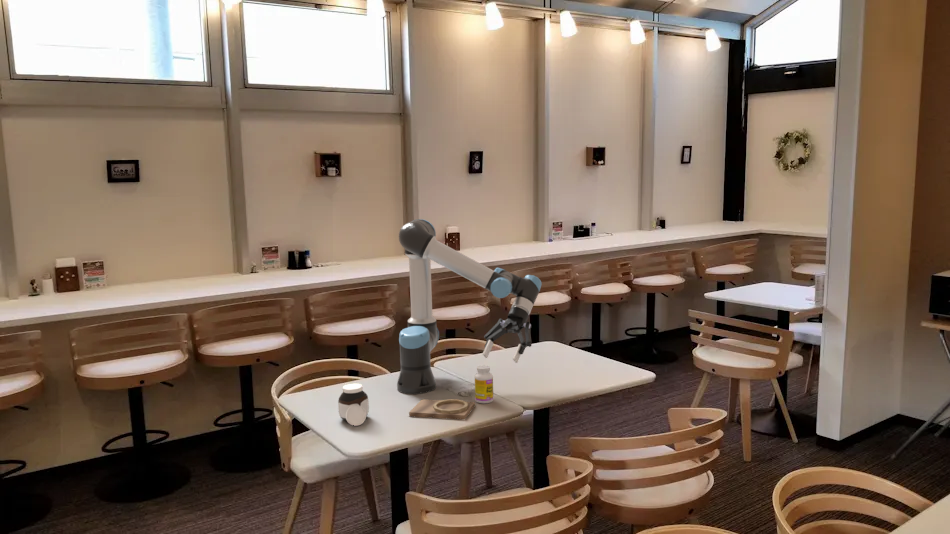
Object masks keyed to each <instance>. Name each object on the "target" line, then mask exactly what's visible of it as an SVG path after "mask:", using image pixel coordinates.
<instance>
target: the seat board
mask: <svg viewBox="0 0 950 534" xmlns="http://www.w3.org/2000/svg"><path fill="white" fill-rule="evenodd" d="M474 406H475V407H476V401H466V400H462V399H455V398H454V399H453V398H449V399H425V398H424V399H421V400H420V401H419V402H418V403H416V404H415V406H413V408H412V409H411V410H410V411H409V412H408V416H409V417H411V416H413V418H414V416H415V417H416V418H428V417H432V418H431V419H446V418H447V419H448V420H449V419H450V420H462V419H465V418H466V419H467V417H468V416H469V415H470V413H471V412H472V411H471V410H474V408H475V407H474ZM470 411H471V412H470ZM468 414H469V415H468ZM466 419H465V420H466Z"/></svg>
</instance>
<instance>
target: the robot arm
mask: <svg viewBox="0 0 950 534" xmlns="http://www.w3.org/2000/svg"><path fill="white" fill-rule="evenodd" d="M436 233H437V232H436V229H435V227H434V225H433V224H432V223H431V222H430V221H428V220H426V219H422V218H420V219H419V218H418V219H413V220H411V221H408V222H406V223H405V224H403V225H402V227H400V230H399V233H398V241H399V245H401V247H402V248H403V249H404V255H405V256H406V257H407V258H408V262H409V263H408V265H409V271H408V272H409V292H410V293H409V294H410V318H408V319H407V327H405V328H402V330H400V332H399V337H398V342H399V356H400V357H399V362H400V371H399V375H398V378H397V383H396V390H397V391H398V392H400V393H403V394H409V395H410V394H413V395H414V394H415V395H416V394H424V393H429V392H432V391H434V390H435V389H436V387H437V381H436V379H435V376H434V373H433V371H432V367H431V366H432V365H431V352H432V351H433V350H434V348H435V347H436V346H437V345H438V342H439V339H440V331H439V328H438V327H437V319H436V318H435V317H434V316H433V297H432V295H433V293H432V270H431V269H432V267H431V265H432V264H431V261H433V262H434V263H436V264H438V265H441V267H444V268H446V269H448V270H450V271H451V272H453V273H456V275H459V276H461V277H463V278H465V279H467V280H469V282H472V283H474V284H476V285H478V286H480V287H481V288H483V289H485V290H487V291H489V292H490V293H491V294H492V296H493V297H495V298H498V299H504V298H507V296H509V295H510V294H512V296H513V295H514V296H515V297H514V301H513V303H512V305H511V307H510V310H509V312H508V314H507V319H505V320H503V319H502V318H499V319H498V321H497V322H496V323H495V325H493V326H492V327H491V328H490V329H489V330H488V332H486V334H484V336H483V338H484V339H485V340H486V342H485V345H484V349H483V352H482V356H483V357H484V358H485V359H488V358H489V355H490V352H491V351H492V349H493V346H494V342H495V341H497V339H500V337H502V336H504V335H505V334H508V333H509V334H510V333H512V334H517V336H518V338H519V341H520V343H518V345H517V347H516V350H515V352H514V355H513V357H512V360H513V362H514V363H516V364H518V362H519V360H520V357H521V355H523V354H524V352H525V350H526V348H527V347H529V348H531V347H532V336H531V330H532V324H531V323H530V321H528V319H529V317H530V316H529V315H530V314H531V312H532V309H533V307H534V305H535V302H536V300H537V298H538V297H539V296H538V295H539V293H540V292H541V287H542V284H543V283H542V281H541V279H540V278H539V277H537V276H535V275H532V274H526V275H525V276H524V277H521V276H519V275H516V274H515V273H513V272H510V271H508V270H506V269H503V268H501V267H496V268H495V269H494V270H493V269H491V268H490V267H488V266H486V265H484V264H483V263H480V262H478V261H476V260H474V259H473V258H471V257H469V256H467V255H465V254H464V253H462V252H459V251H458V250H456V249H454V248H452V247H450V246H448V245H446V244H444V243H443V242H441V241H439V240H438V239H437V237H436V236H437V235H436ZM523 329H524V333H525V338H524V335H523V334H524V333H523V332H522V330H523Z"/></svg>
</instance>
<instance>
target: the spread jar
mask: <svg viewBox="0 0 950 534" xmlns="http://www.w3.org/2000/svg"><path fill="white" fill-rule="evenodd" d="M369 402H370V401H369V396H368V394H367V393H366V392H365V391H364V389H363V385H362V384H361V383H348V384H344V385H343V386H342V393H341V394H340V395H339V397H338V401H337V406H338V408H337V409H338V414H339V417H340V419H342V420H343V421H345V422H346V421H347V423H348V424H349V425H351V426H353V425H354V427H357V426H360V425H362V424H363V423H364V422H365V421H366V418H367V416H368V414H369V411H370V410H369V409H370V406H369Z"/></svg>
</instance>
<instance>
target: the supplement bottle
mask: <svg viewBox="0 0 950 534" xmlns="http://www.w3.org/2000/svg"><path fill="white" fill-rule="evenodd" d="M490 371H491V367H490V365H485V364H483V365H478V366H477V367H476V372H477V373H476V374H475V375H474V397H475V403H478V404H490V403H492V402H493V401H494V376H493V374H492V373H491V372H490Z"/></svg>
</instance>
